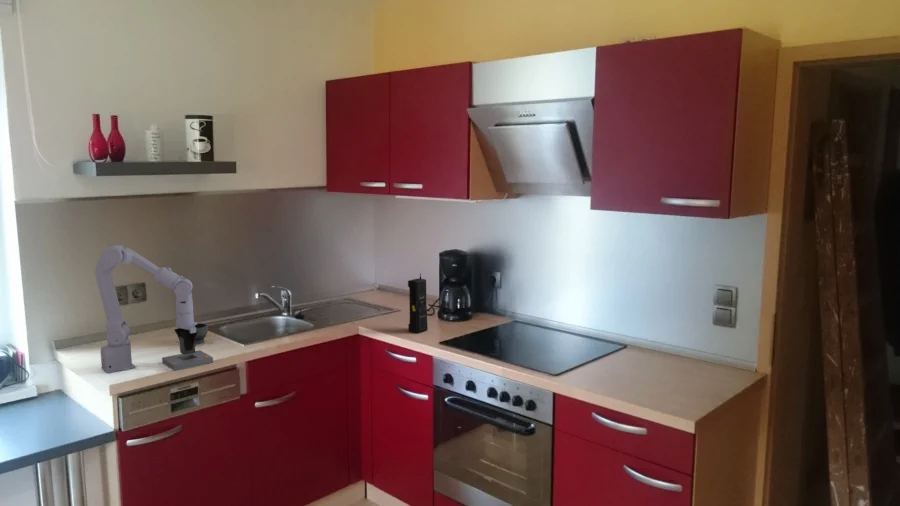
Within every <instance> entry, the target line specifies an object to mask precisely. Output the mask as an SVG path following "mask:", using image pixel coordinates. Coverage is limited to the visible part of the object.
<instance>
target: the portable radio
mask: <svg viewBox="0 0 900 506" xmlns="http://www.w3.org/2000/svg"><path fill="white" fill-rule="evenodd" d="M421 275H422V273H419V278H414V279H410V280H407V287H408V288H409V324H408V325H407V326H408V327H407V328H408V332H410V333H414V334H420V333H423V332H427V331H428V329H429V328H428V310H427V309H428V308H427V306H428V305H427V279H425V278H422V277H421Z"/></svg>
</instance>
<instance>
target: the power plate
mask: <svg viewBox="0 0 900 506" xmlns="http://www.w3.org/2000/svg"><path fill="white" fill-rule="evenodd" d="M161 363H162V364H164V365H165V366H167V367H168V368H170V369H171V370H173V371H178V370H185V369H189V368H195V367H198V366H203V365H206V364H207V365H208V364H212V363H214V357H213V356H211V355H210V354H208V353H206V352H204V351H202V350H200V349H199V350H198V349H197V350H195V353H192V354H187V355H184V354H182V353H179V354H174V355H168V356H165V357H162V358H161Z"/></svg>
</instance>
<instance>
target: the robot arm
mask: <svg viewBox="0 0 900 506" xmlns="http://www.w3.org/2000/svg"><path fill="white" fill-rule="evenodd" d="M121 262H122V265H134V266H136V267H138V268H139V269H142V270H143V271H145V272H146V273H149V274H151V275H152V276H153V277H154V281H155V282H157V283H159V284H161V285H162V286H164V287H166V288H167V289H169V290H171V291H172V290H173V292H174V294H175V309H176V314H175V315H176V320H175V327H176V328H174V330H173V331H174V332H175V333H176V336H177V337H178V340H179V342H180V339H179V337H180V336H182V337H183V339H184V343H185V348H186V350H187V351H188V350H192V349H193V345H194V340H195V337H196V335H197V333H198V331H197V330H196V327H195V325H197V323H198V322H197V321H195V318H194V315H195V314H194V301H193V300H194V298H193V293H192V292H193V291H192V290H193V287H194V286H193V283H192V281H191V280H190V279H189V278H187V277H184V276H183V275H179V274H177V273H176V272H174V271H173V270H172V268H171V267H166V266H163V267H162V266H161V267H158V265H156V264H154V263H153V262H151V261H150V260H149V259H147V258H146V257H144V256H142V255H141V254H139V253H138V252H136V251H134V249H131V248H129V247H126V246H125V245H124V244H121V243H115V244H112V245H111V246H110V247H107V248H105V250H103V251H102V253H100V255H99V258H98V261H97V263H96V266H95V268H94V275H95V280H96V283H97V286H98V290H99V295H100V299H101V302H102V305H103V310H104V314H105V317H106V325H105V326H106V331H107V332H106V336H105V339H106V342H107V344H106V345H103V346H101V347H100V360H101V370H103V371H104V372H105V373H107V374H109V373H115V372H116V373H117V372H121V371H125V370H130V369H135V368H137V366H136V365H135V364H133V363H132V362H133V361H132V360H133V359H132V346H131V339H129V336H130V334H131V333H132V332H131V326H130V325H129V324H128V323H127V322H126V317H124V315H123V313H122V309H121V305H120V303H119V302H120V301H119V299H118V298H119V297H118V294H117V293H118V292H117V290H116V289H117V288H116V285H115V282H114V278H113V275H112V272H113V271H114V270H115V268H116V267H117V266H118V264H120V263H121Z"/></svg>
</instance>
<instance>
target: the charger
mask: <svg viewBox="0 0 900 506" xmlns="http://www.w3.org/2000/svg"><path fill="white" fill-rule="evenodd" d="M179 339H180V341H179V352H180V353H179V354H184V355H187V354H192V353H195V351H196V345H195V340H194V345H193V349H192V350H188V351H187V350H186V348H185V343H184V339H183V337H182V336H180V337H179V338H178V340H179Z"/></svg>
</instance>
